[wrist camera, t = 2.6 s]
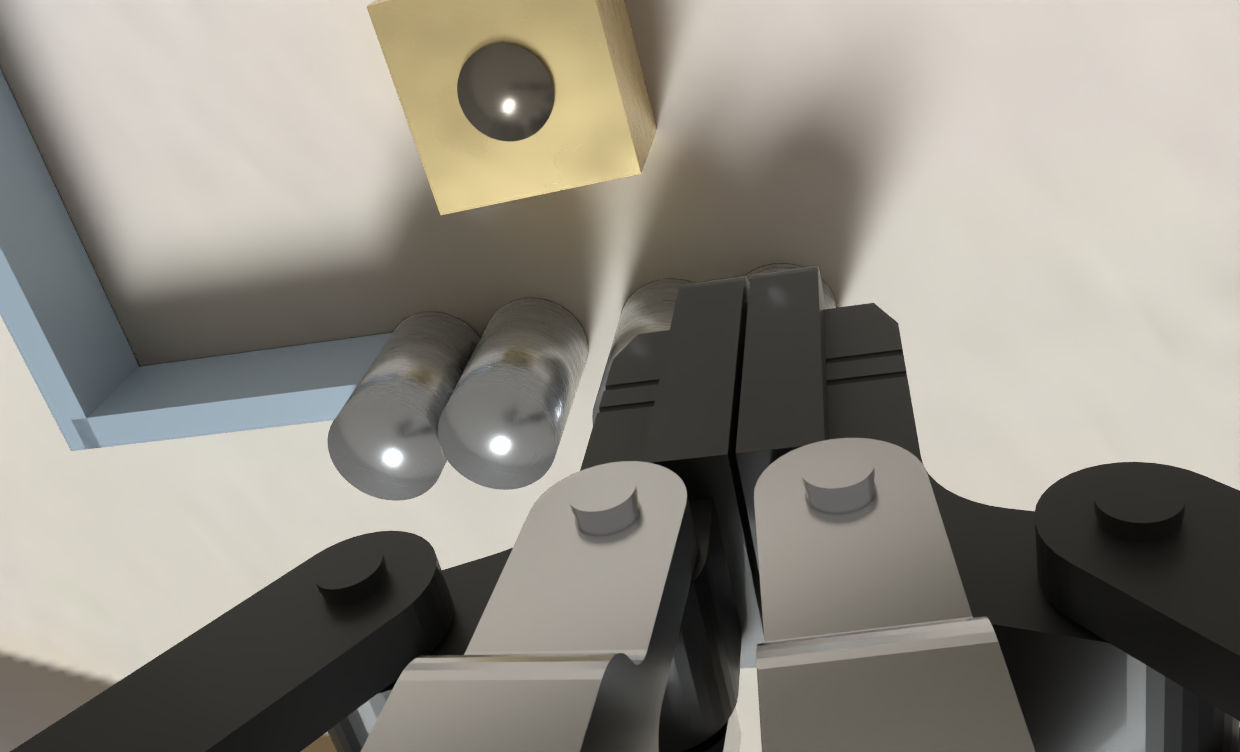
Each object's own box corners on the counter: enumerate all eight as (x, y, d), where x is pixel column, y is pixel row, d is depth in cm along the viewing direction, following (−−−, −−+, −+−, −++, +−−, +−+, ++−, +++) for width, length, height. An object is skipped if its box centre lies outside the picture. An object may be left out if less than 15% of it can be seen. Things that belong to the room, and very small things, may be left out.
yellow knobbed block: (606, -76, 27) (581, -49, 23) (657, 127, 29) (640, 176, 26) (413, -24, 28) (364, 8, 25) (476, 166, 30) (438, 217, 27)
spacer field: (757, -487, 22) (748, -540, 18) (861, 353, 31) (872, 453, 27) (115, -305, 25) (-23, -313, 21) (375, 410, 34) (314, 508, 30)
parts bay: (200, -247, 26) (134, -244, 23) (406, 362, 33) (373, 415, 30) (-142, -156, 28) (-238, -145, 25) (123, 398, 35) (71, 450, 33)
